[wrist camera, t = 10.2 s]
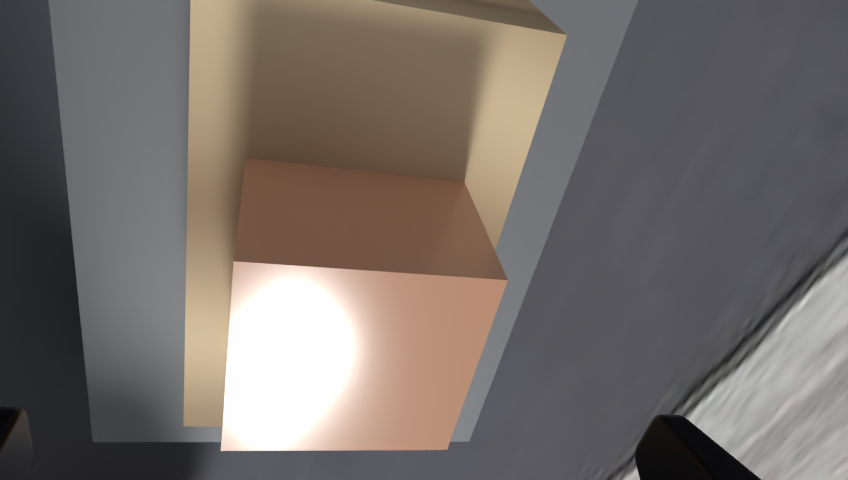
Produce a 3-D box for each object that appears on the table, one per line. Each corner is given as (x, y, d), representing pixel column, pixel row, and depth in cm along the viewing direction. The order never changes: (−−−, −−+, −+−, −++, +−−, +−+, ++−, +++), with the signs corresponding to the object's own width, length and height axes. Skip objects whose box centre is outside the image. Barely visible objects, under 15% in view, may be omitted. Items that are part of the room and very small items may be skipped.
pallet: (414, 332, 19) (435, 427, 16) (200, 322, 17) (183, 426, 15) (509, -17, 14) (567, 35, 11) (214, -76, 12) (190, -33, 9)
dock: (451, 377, 25) (468, 441, 22) (114, 369, 22) (92, 442, 19) (629, -156, 15) (693, -145, 13) (69, -308, 12) (15, -331, 10)
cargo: (420, 337, 14) (446, 449, 12) (233, 329, 13) (220, 450, 11) (464, 181, 12) (507, 280, 10) (245, 157, 11) (233, 261, 9)
